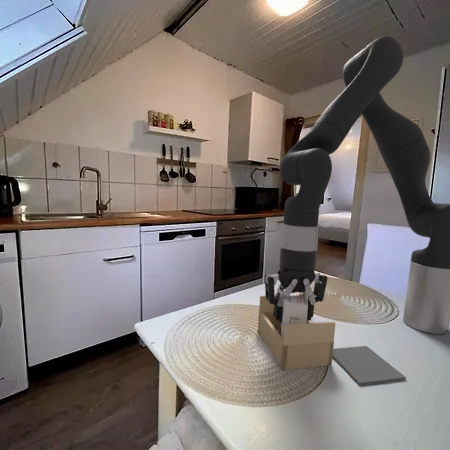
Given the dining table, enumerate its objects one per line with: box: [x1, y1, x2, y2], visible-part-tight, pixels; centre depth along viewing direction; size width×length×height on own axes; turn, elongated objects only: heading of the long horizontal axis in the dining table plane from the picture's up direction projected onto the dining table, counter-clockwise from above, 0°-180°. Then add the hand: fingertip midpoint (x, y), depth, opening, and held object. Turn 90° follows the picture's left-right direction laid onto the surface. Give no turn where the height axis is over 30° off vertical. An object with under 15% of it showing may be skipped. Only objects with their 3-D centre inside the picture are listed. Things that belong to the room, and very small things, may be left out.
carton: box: [257, 295, 336, 371], centre depth 56 cm, size 11×15×9 cm
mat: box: [332, 345, 407, 386], centre depth 51 cm, size 10×10×1 cm
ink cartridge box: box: [280, 286, 308, 338], centre depth 56 cm, size 9×5×15 cm, turn 169°
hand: (292, 319), depth 56 cm, fingers closed on ink cartridge box, 6 cm apart
